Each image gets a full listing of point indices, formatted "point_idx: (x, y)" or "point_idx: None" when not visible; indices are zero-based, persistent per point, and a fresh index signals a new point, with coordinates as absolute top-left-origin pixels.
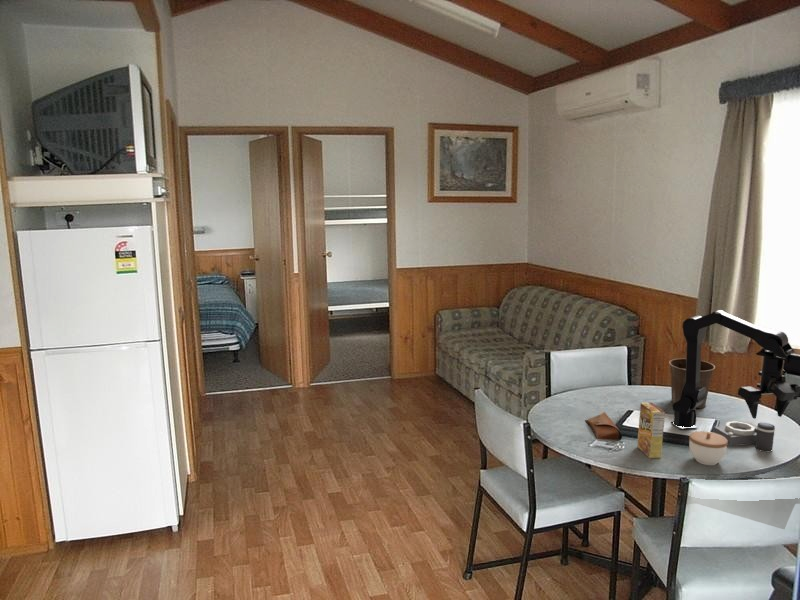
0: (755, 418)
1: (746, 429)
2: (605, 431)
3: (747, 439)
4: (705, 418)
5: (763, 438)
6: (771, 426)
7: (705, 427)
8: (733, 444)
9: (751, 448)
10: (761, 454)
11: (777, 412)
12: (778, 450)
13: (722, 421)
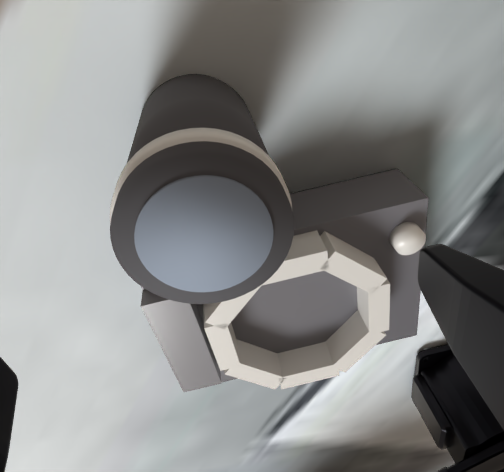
0: (426, 247)
1: (241, 323)
2: None
3: None
4: (306, 439)
5: (243, 121)
6: (161, 201)
7: (367, 367)
8: (379, 176)
9: (283, 132)
10: (268, 16)
11: (9, 432)
12: (92, 106)
13: (248, 428)
